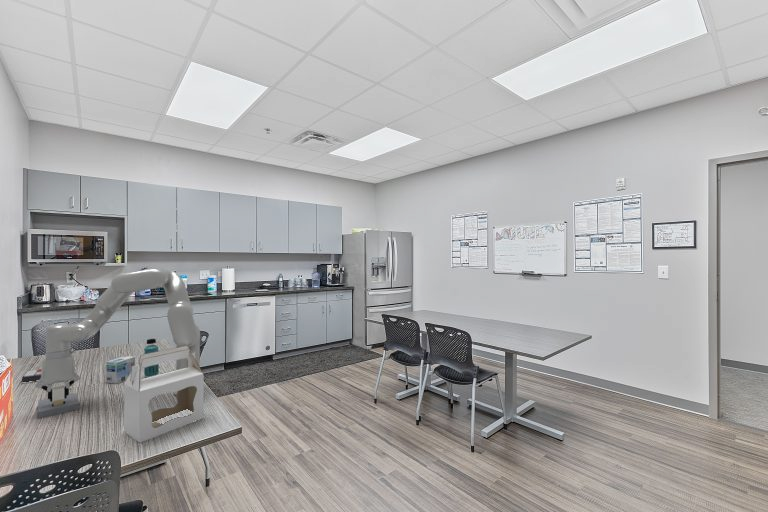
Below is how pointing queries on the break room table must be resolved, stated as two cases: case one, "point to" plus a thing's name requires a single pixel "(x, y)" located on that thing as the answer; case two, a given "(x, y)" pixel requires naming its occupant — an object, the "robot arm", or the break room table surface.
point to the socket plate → (49, 409)
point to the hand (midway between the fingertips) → (58, 398)
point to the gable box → (180, 380)
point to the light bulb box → (119, 369)
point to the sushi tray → (32, 375)
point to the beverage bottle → (149, 349)
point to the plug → (58, 395)
